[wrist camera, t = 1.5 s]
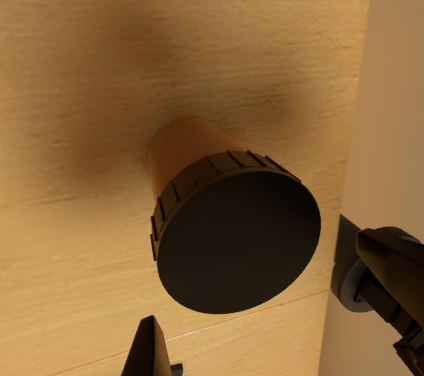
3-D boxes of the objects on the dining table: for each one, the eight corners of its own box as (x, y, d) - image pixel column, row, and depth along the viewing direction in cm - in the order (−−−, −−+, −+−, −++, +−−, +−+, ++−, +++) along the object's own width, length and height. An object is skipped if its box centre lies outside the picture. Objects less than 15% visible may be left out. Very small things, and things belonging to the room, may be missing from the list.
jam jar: (234, 119, 20) (323, 174, 11) (223, 195, 22) (288, 290, 13) (147, 114, 18) (169, 175, 9) (146, 198, 20) (162, 308, 12)
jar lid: (308, 150, 12) (343, 169, 10) (276, 270, 15) (299, 303, 13) (151, 146, 10) (158, 169, 8) (148, 285, 13) (153, 327, 11)
